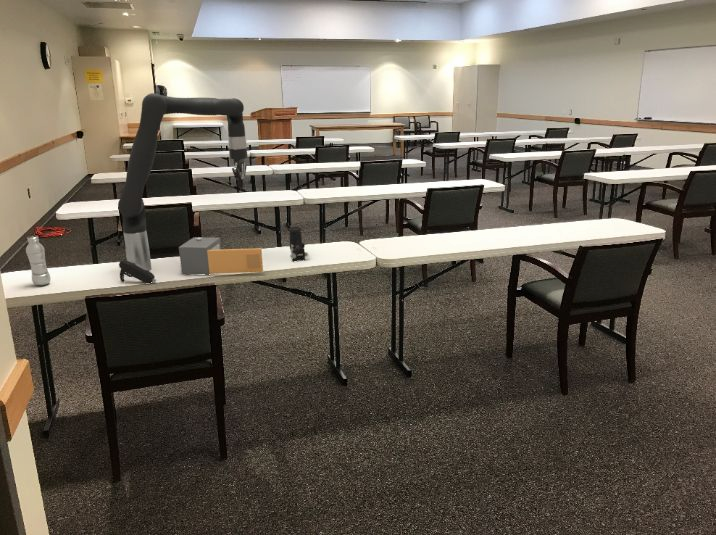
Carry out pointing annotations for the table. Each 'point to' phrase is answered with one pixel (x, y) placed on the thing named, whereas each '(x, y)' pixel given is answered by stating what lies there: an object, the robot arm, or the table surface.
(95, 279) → the table surface
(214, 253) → the side door
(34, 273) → the plastic bottle
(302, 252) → the scope
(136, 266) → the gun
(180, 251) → the grey cabinet body
